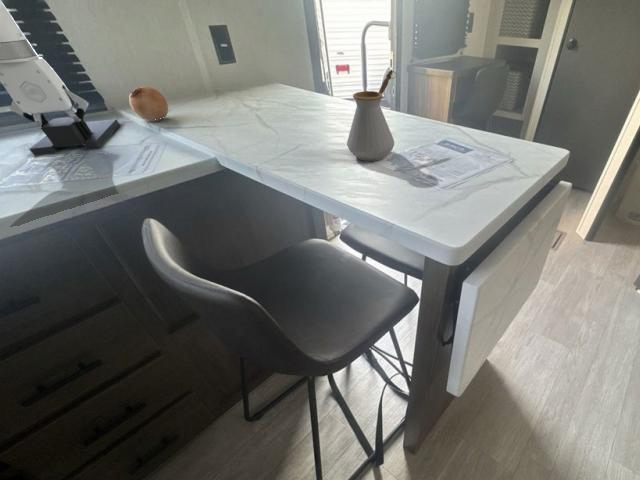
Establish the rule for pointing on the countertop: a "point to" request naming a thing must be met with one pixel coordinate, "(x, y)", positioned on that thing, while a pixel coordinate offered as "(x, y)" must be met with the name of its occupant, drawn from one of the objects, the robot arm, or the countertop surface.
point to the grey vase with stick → (370, 126)
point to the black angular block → (63, 132)
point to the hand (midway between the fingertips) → (73, 138)
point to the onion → (148, 103)
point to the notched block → (98, 137)
